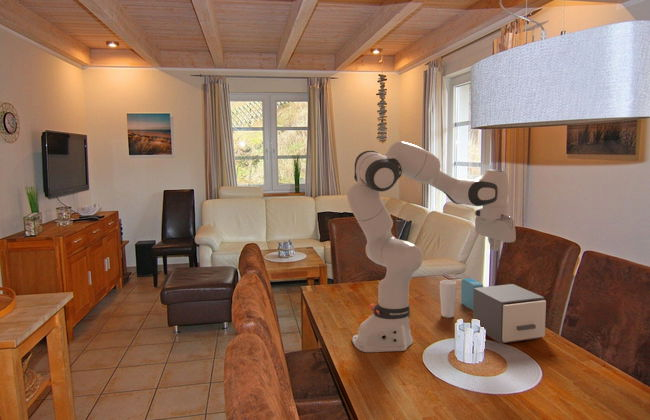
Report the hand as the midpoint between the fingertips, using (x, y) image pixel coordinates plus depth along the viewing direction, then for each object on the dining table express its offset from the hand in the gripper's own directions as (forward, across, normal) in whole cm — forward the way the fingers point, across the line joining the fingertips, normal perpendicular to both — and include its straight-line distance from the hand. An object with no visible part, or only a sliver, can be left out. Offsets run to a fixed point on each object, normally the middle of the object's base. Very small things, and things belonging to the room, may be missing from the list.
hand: (494, 250), depth 170 cm
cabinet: (+33, +1, -7) cm, 34 cm away
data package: (+33, +30, -10) cm, 46 cm away
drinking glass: (+33, +23, +6) cm, 41 cm away
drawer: (+32, -1, -7) cm, 33 cm away
